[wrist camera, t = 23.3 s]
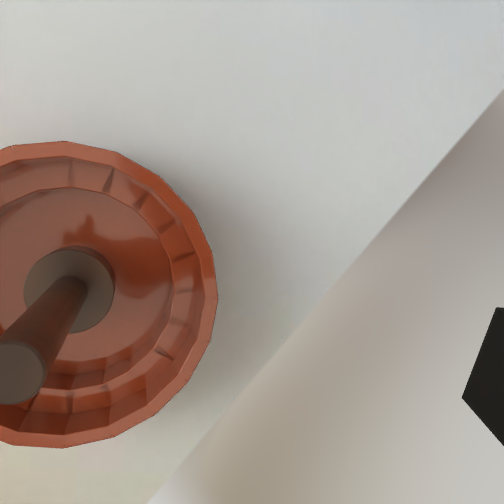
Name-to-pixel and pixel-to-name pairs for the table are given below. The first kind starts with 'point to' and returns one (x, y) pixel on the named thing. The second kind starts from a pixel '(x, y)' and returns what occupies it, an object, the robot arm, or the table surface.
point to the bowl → (125, 296)
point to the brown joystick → (53, 316)
